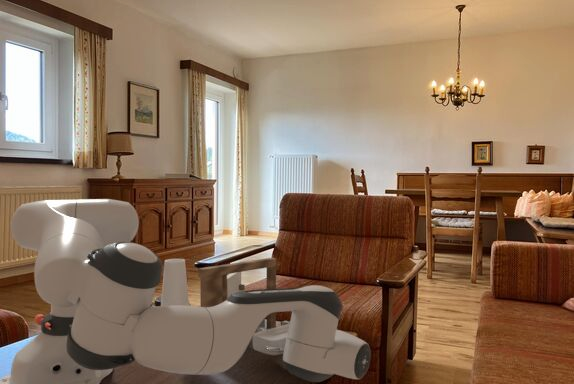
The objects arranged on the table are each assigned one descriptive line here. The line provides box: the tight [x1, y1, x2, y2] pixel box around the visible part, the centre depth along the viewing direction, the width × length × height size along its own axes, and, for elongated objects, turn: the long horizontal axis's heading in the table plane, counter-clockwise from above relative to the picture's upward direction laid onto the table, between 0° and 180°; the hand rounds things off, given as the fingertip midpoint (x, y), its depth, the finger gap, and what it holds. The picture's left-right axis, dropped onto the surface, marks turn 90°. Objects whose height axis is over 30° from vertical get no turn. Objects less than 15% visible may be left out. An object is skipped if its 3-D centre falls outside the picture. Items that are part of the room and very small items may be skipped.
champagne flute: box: [161, 258, 190, 306], centre depth 112 cm, size 7×7×24 cm
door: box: [227, 272, 246, 298], centre depth 123 cm, size 12×3×18 cm, turn 169°
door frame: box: [197, 257, 277, 330], centre depth 119 cm, size 23×2×22 cm, turn 132°
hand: (271, 327), depth 117 cm, fingers open, 6 cm apart
